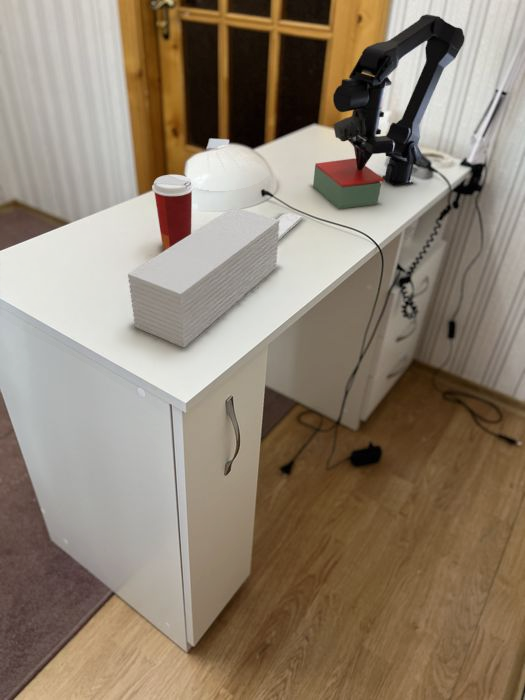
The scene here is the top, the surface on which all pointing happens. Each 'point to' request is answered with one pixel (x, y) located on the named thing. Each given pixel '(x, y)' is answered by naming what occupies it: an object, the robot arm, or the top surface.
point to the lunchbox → (346, 191)
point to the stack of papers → (203, 275)
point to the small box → (216, 143)
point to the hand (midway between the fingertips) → (359, 169)
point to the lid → (348, 173)
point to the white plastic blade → (287, 223)
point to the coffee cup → (173, 208)
